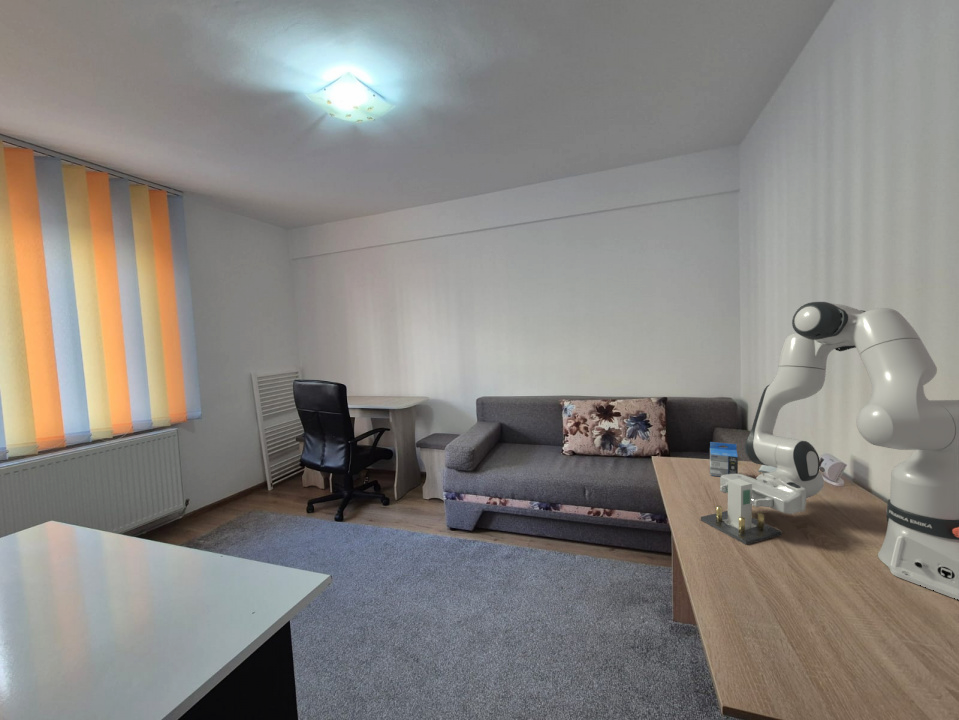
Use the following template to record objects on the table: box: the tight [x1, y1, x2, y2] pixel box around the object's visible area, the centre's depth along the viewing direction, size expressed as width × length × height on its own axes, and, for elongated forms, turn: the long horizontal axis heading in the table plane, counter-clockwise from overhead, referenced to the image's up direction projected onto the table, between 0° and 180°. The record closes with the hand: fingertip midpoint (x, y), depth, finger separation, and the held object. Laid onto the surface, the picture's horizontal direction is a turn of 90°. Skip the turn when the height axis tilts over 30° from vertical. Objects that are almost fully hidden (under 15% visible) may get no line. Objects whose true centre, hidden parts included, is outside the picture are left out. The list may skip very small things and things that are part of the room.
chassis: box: [700, 505, 783, 545], centre depth 109 cm, size 14×13×5 cm
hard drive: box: [758, 465, 777, 474], centre depth 149 cm, size 2×8×12 cm
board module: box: [727, 479, 753, 527], centre depth 108 cm, size 4×4×12 cm
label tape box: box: [709, 441, 739, 478], centre depth 145 cm, size 9×4×12 cm, turn 61°
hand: (737, 496), depth 108 cm, fingers open, 8 cm apart
